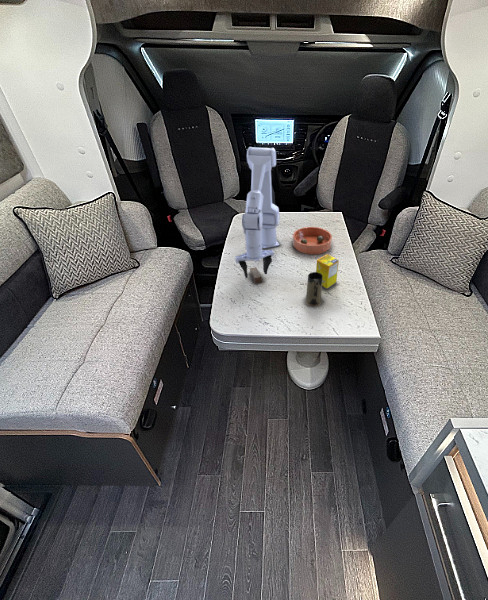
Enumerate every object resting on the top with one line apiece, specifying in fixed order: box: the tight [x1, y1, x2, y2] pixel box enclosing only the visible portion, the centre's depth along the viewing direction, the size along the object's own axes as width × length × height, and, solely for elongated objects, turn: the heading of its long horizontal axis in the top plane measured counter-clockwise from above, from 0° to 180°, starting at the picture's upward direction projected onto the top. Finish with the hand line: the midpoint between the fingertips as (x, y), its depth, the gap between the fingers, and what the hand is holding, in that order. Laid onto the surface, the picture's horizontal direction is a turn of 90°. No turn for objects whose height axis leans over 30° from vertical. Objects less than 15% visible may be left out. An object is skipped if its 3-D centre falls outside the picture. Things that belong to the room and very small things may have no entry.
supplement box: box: [315, 253, 340, 291], centre depth 127 cm, size 6×6×11 cm
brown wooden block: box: [249, 266, 263, 284], centre depth 133 cm, size 7×3×3 cm, turn 21°
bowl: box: [292, 226, 333, 255], centre depth 152 cm, size 17×17×4 cm
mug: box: [305, 271, 323, 307], centre depth 118 cm, size 8×6×12 cm
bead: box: [317, 236, 324, 243], centre depth 154 cm, size 3×3×3 cm
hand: (255, 274), depth 133 cm, fingers open, 7 cm apart
